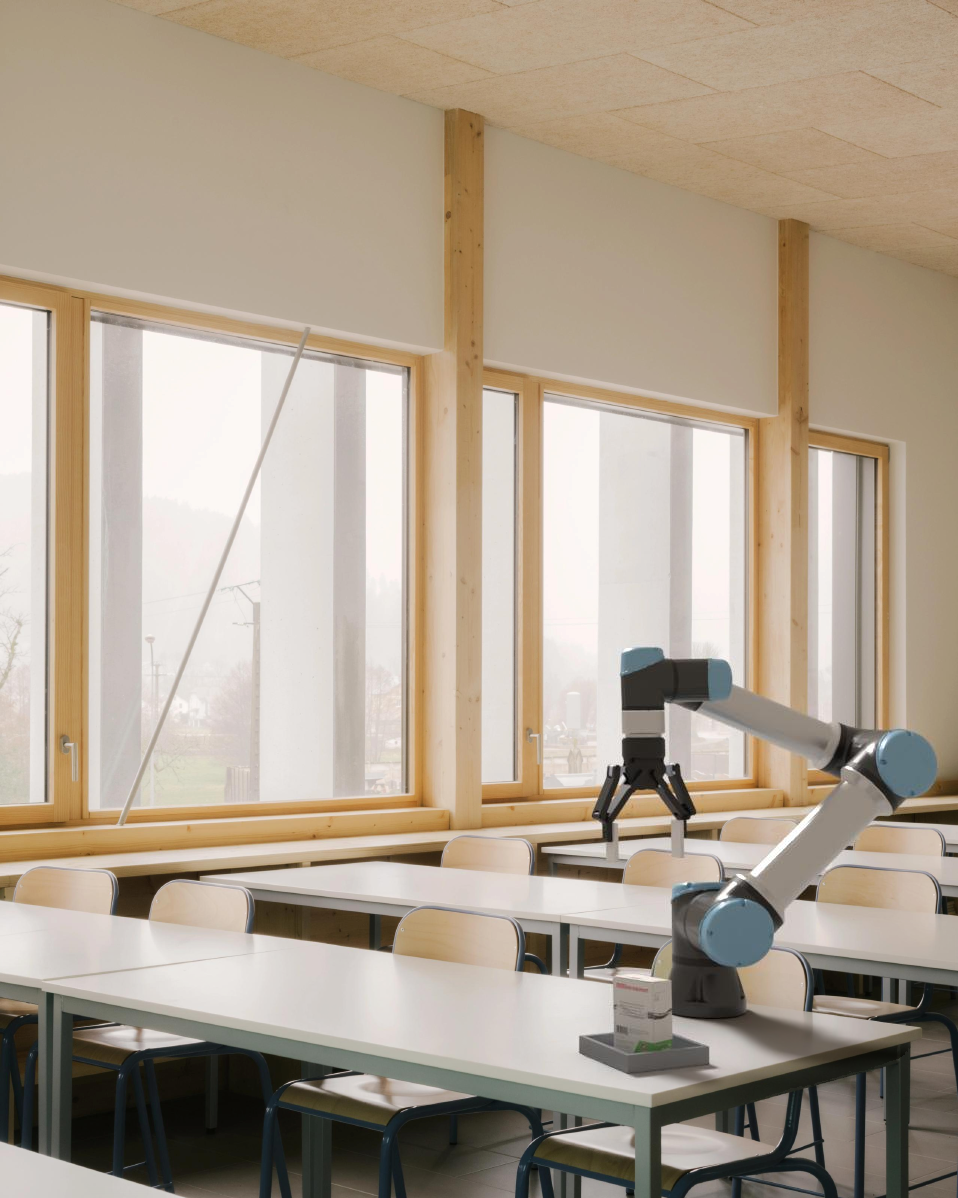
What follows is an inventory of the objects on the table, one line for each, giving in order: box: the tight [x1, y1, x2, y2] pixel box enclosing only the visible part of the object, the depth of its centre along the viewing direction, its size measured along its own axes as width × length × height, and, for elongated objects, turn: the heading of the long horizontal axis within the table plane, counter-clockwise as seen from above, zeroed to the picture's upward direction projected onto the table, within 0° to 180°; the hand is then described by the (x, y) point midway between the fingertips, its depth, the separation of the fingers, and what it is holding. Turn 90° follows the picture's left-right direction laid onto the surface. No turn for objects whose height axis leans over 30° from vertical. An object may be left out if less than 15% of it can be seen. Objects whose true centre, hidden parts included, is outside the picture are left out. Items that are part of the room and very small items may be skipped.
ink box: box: [612, 973, 673, 1054], centre depth 220 cm, size 9×5×12 cm, turn 42°
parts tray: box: [578, 1031, 710, 1074], centre depth 219 cm, size 15×15×3 cm
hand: (645, 859), depth 243 cm, fingers open, 13 cm apart
